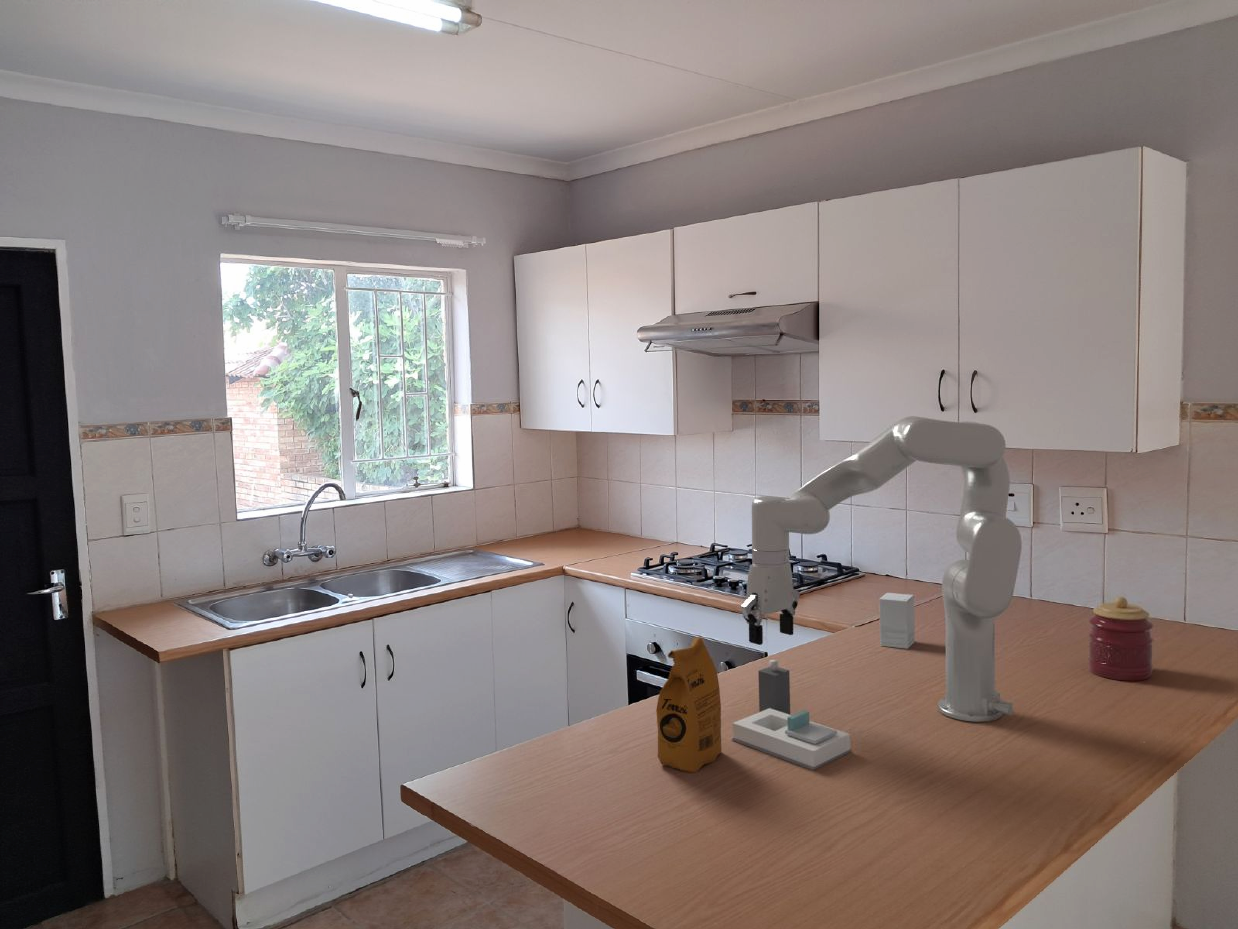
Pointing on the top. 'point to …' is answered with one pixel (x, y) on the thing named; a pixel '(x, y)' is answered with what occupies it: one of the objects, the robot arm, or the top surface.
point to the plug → (774, 688)
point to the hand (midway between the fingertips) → (771, 638)
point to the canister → (1120, 641)
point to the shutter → (807, 728)
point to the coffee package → (689, 710)
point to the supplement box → (897, 620)
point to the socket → (788, 740)
